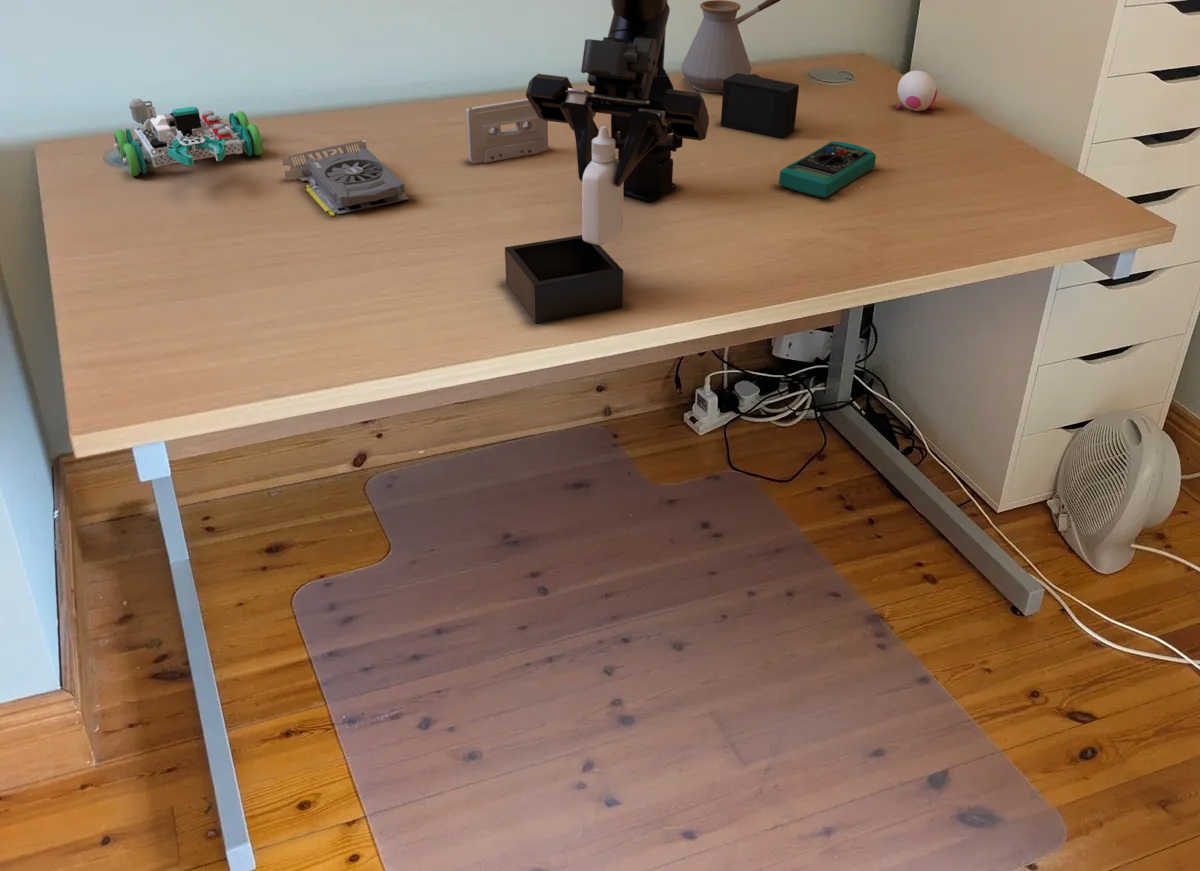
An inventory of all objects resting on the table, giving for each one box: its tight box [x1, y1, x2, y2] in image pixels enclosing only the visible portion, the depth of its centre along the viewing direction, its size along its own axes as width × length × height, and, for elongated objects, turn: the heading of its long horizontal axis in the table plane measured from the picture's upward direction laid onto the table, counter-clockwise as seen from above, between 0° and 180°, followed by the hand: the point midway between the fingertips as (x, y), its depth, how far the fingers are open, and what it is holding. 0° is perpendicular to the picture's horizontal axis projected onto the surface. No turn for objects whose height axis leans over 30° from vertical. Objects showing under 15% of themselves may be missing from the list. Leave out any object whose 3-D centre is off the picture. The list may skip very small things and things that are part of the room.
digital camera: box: [720, 73, 800, 139], centre depth 169 cm, size 10×5×7 cm, turn 58°
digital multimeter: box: [778, 140, 877, 199], centre depth 154 cm, size 7×15×3 cm, turn 142°
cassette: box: [465, 97, 549, 165], centre depth 158 cm, size 12×2×8 cm, turn 119°
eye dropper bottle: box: [581, 125, 624, 246], centre depth 119 cm, size 4×6×12 cm
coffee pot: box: [680, 0, 781, 94], centre depth 185 cm, size 21×12×15 cm, turn 115°
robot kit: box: [113, 98, 264, 177], centre depth 153 cm, size 19×25×9 cm
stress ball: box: [896, 70, 938, 112], centre depth 178 cm, size 8×8×7 cm
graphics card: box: [281, 139, 410, 217], centre depth 148 cm, size 17×4×12 cm
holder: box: [504, 234, 624, 325], centre depth 124 cm, size 10×10×4 cm
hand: (598, 182), depth 118 cm, fingers closed on eye dropper bottle, 3 cm apart
